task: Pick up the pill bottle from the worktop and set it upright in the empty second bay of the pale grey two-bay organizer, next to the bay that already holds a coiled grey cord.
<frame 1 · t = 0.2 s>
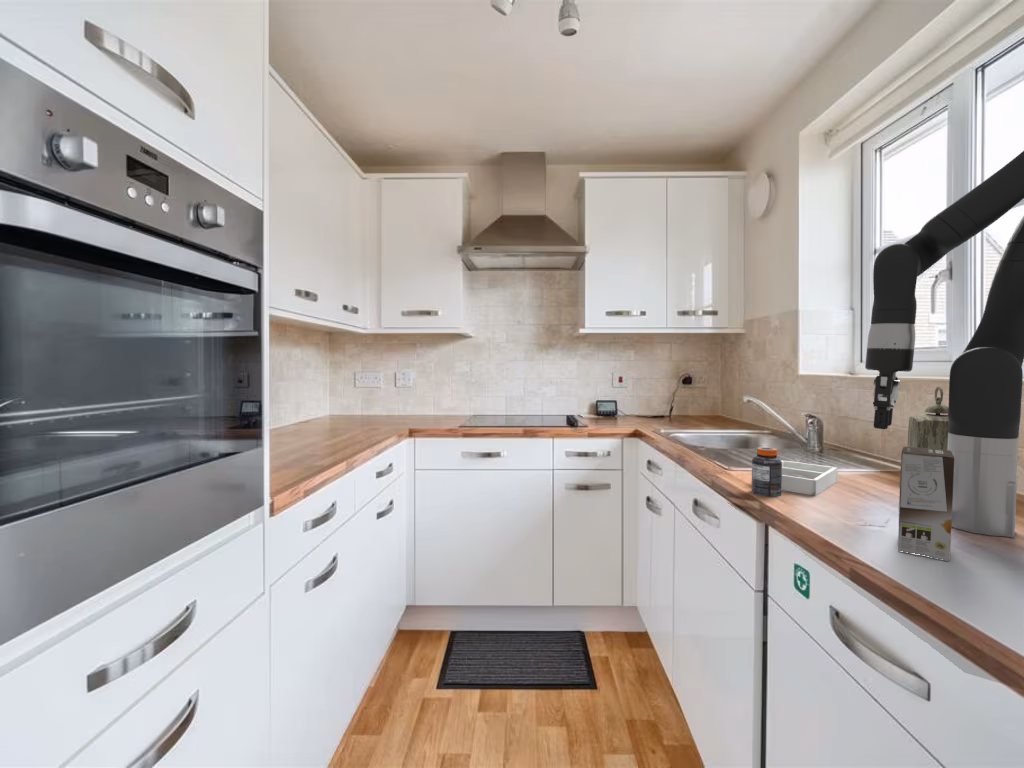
hand: (882, 426, 98), 17 cm above the worktop, tool pointing down, fingers open, 8 cm apart
pill bottle: (765, 499, 108), on the worktop
organizer: (796, 487, 118), on the worktop
coffee box: (922, 550, 78), on the worktop
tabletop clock: (933, 484, 123), on the worktop
cord coil: (790, 486, 114), point 1 cm above the worktop, touching organizer
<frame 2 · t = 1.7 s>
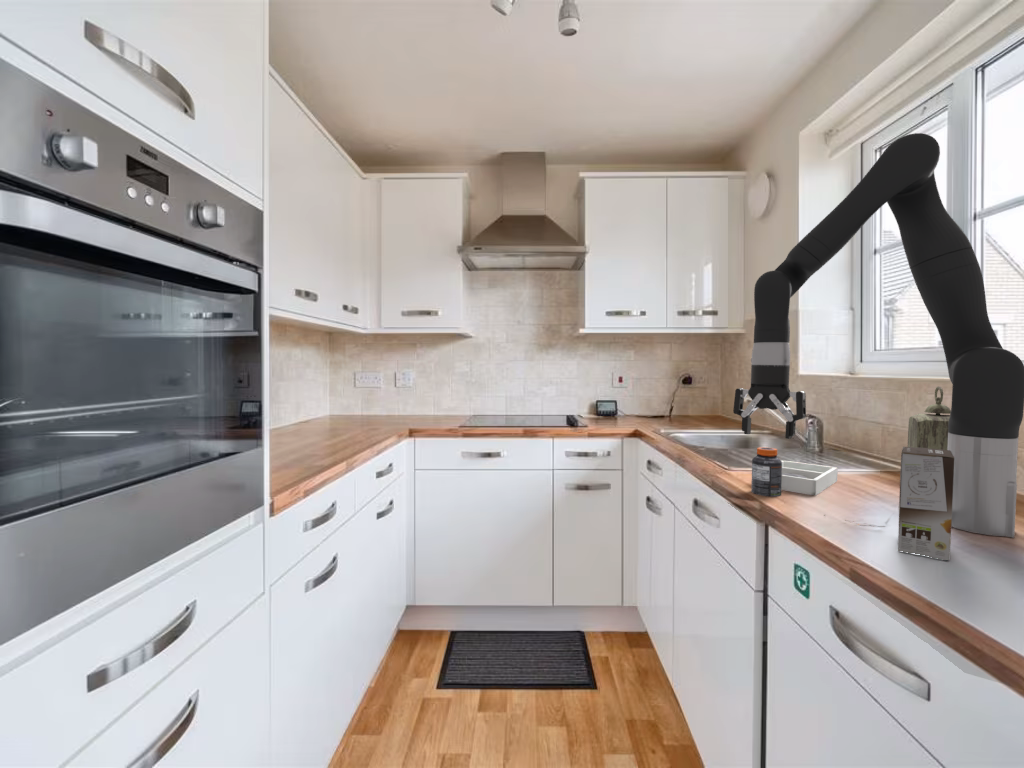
hand: (767, 436, 107), 14 cm above the worktop, tool pointing down, fingers open, 8 cm apart
nothing on the worktop moved.
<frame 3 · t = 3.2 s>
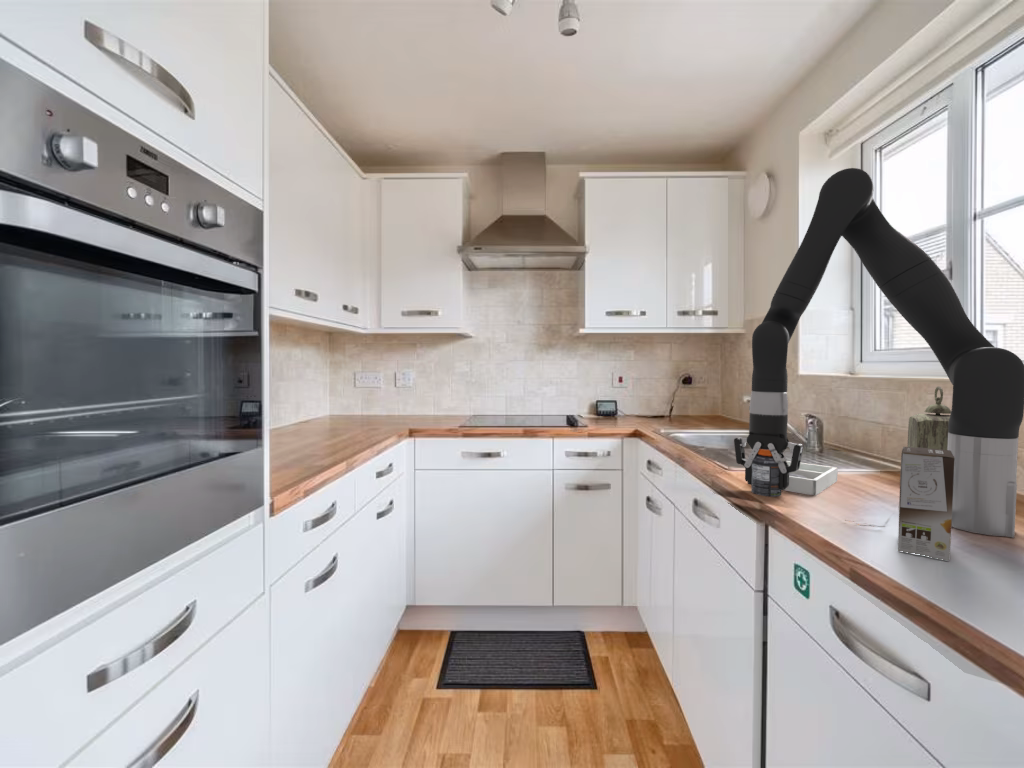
hand: (766, 486, 108), 3 cm above the worktop, tool pointing down, fingers closed on pill bottle, 6 cm apart
pill bottle: (765, 499, 108), on the worktop, touching gripper
everything else where it was.
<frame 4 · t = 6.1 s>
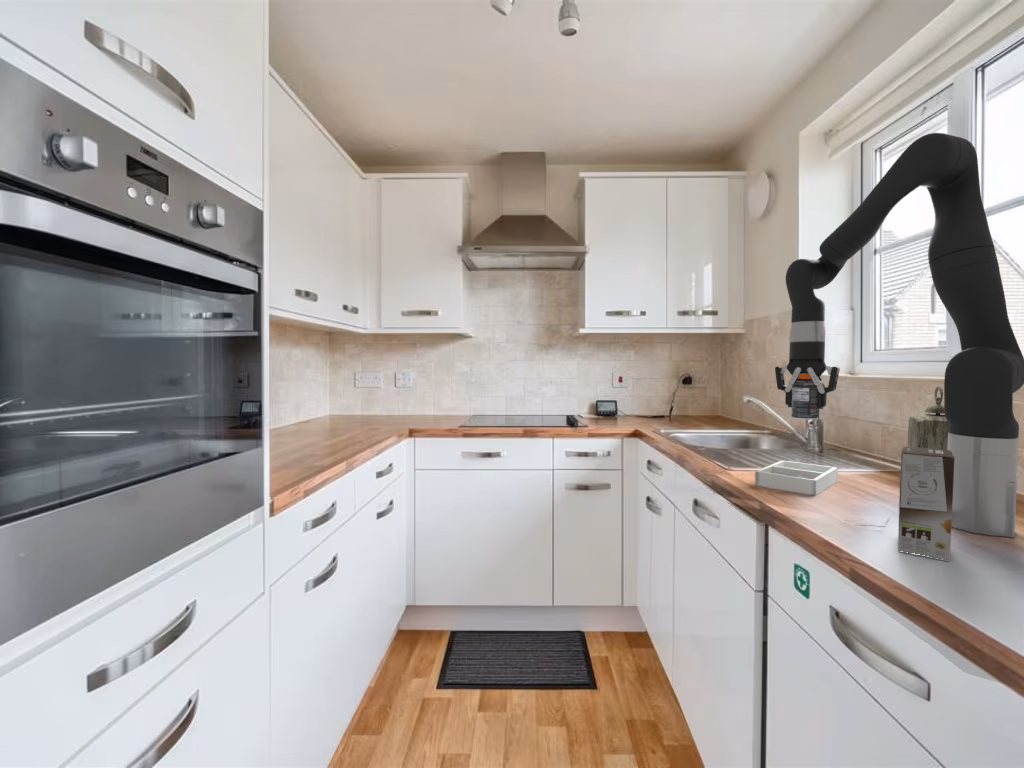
hand: (805, 407, 120), 19 cm above the worktop, tool pointing down, fingers closed on pill bottle, 6 cm apart
pill bottle: (804, 419, 120), point 17 cm above the worktop, touching gripper
everything else where it was.
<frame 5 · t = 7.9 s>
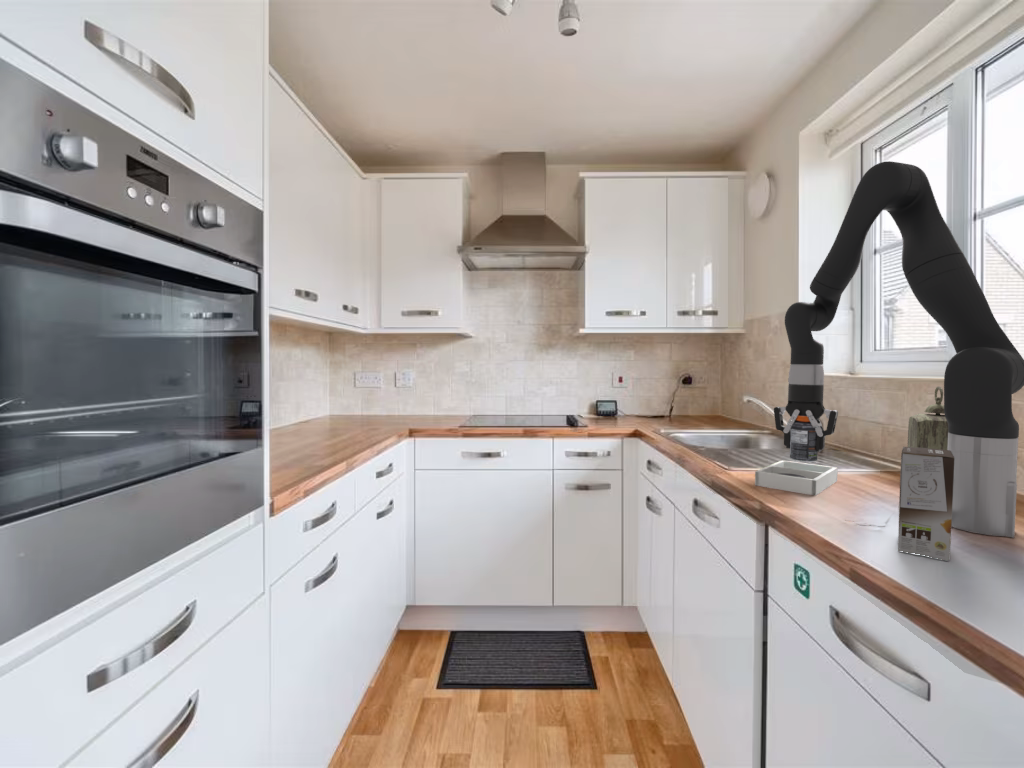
hand: (803, 449, 121), 9 cm above the worktop, tool pointing down, fingers closed on pill bottle, 6 cm apart
pill bottle: (803, 460, 121), point 6 cm above the worktop, touching gripper
everything else where it was.
when the fingers open (6 cm above the worktop, at t = 9.2 s): pill bottle drops 2 cm, resting on organizer.
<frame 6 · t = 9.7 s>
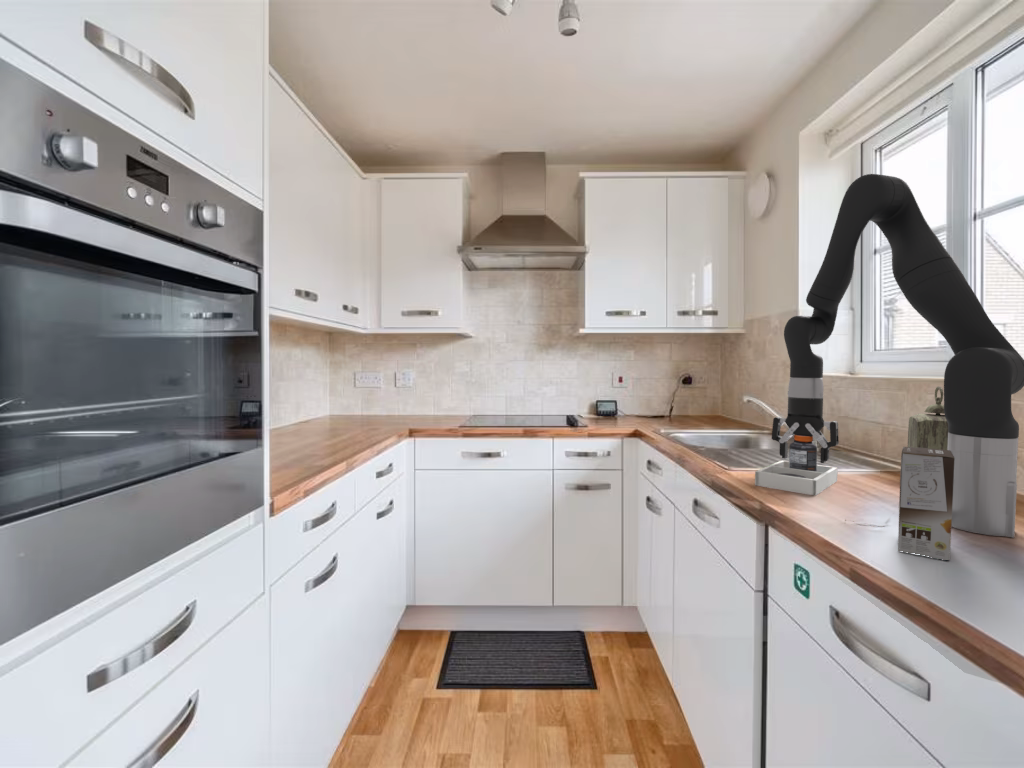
hand: (803, 460, 121), 6 cm above the worktop, tool pointing down, fingers open, 8 cm apart
pill bottle: (802, 480, 121), point 1 cm above the worktop, touching organizer
everything else where it was.
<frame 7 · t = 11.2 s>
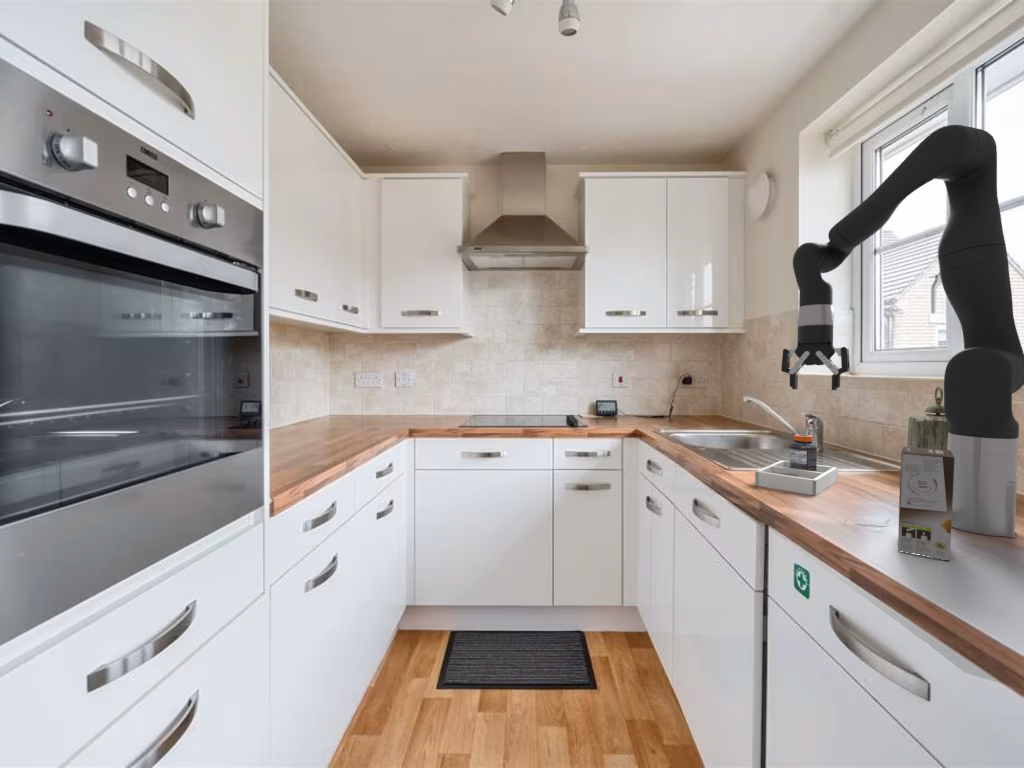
hand: (813, 389, 120), 24 cm above the worktop, tool pointing down, fingers open, 8 cm apart
nothing on the worktop moved.
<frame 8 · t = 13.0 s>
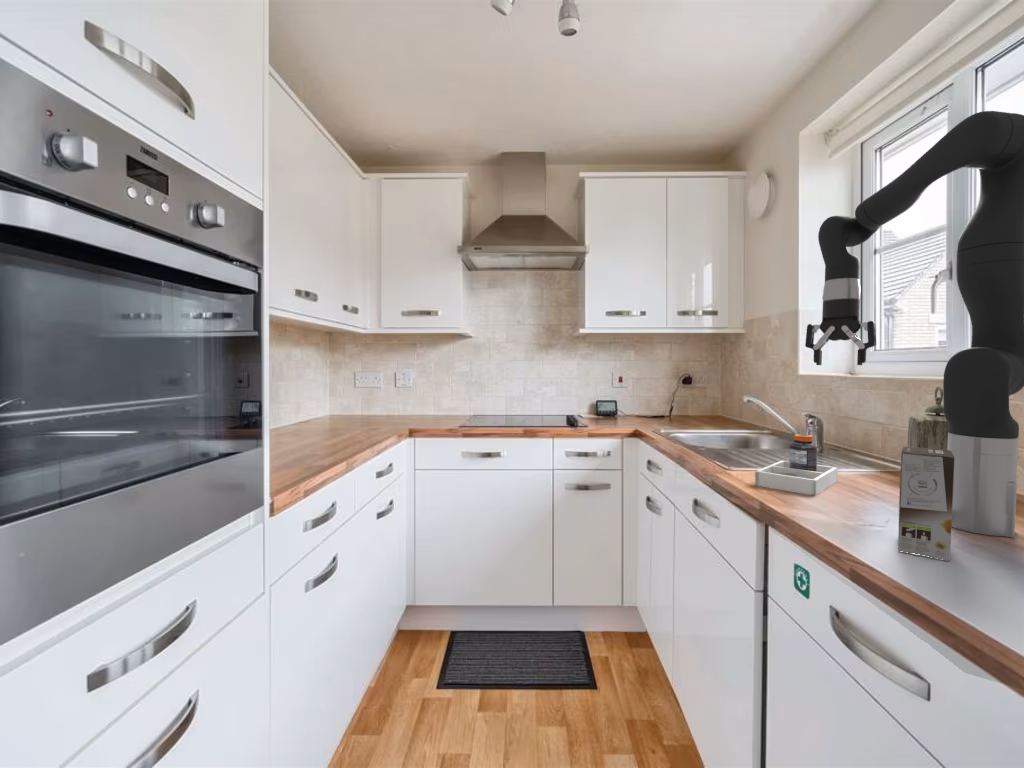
hand: (838, 365, 119), 30 cm above the worktop, tool pointing down, fingers open, 8 cm apart
nothing on the worktop moved.
at the end: pill bottle inside the target area on the organizer (0.1 cm from its centre), point 1.0 cm above the organizer's base; pill bottle tilted 0°; the gripper is holding nothing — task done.
